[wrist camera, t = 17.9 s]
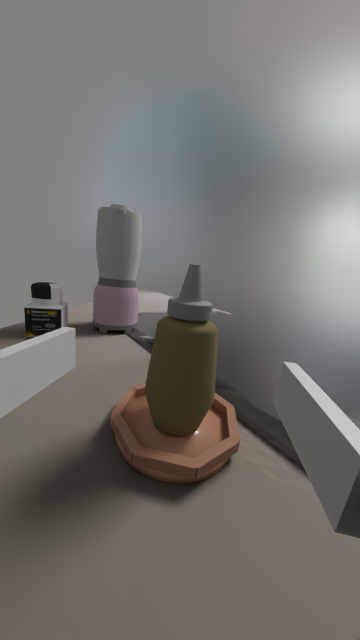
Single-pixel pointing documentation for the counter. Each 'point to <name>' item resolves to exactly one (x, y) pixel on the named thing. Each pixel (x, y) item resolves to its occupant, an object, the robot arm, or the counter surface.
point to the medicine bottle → (45, 309)
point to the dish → (174, 440)
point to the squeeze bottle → (183, 361)
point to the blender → (117, 269)
